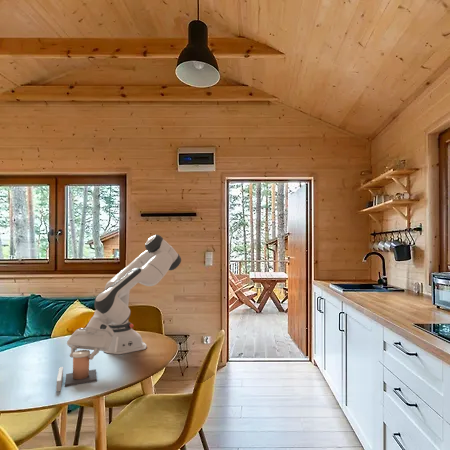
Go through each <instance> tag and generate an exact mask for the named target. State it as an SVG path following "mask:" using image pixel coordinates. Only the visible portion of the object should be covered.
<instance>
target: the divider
mask: <svg viewBox="0 0 450 450" xmlns="http://www.w3.org/2000/svg"><path fill="white" fill-rule="evenodd" d="M56 377H57V378H56V390H55V391H56V392H61V391H62V386H63V378H64V366H61V367H59V368H58V373H57V376H56Z"/></svg>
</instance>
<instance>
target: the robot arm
mask: <svg viewBox="0 0 450 450" xmlns="http://www.w3.org/2000/svg"><path fill="white" fill-rule="evenodd" d="M144 247H145V249H146V250H145V251H143V252H142V253H139V255H138V256H137V257H135V259H133V260H132V261H131V262H130V263H129V264H128V265H127V266H125V267H124V268H123V269H121V270H120V271H119V272H118V273H117V274H115V275H114V276H113V277H112V278H110V280H108V281H107V282H106V284H105V286H104V289H103V291H101V292H99V293H98V294H97V295H96V296H95V299H94V309H95V311H94V314H93V316H92V317H91V318H90V319H89V322H88V323H87V325H86V326H85V327H79V328H77V329H76V330H75V331H74V332H73V333H72V334H71V335H70V337H69V338H68V340H67V342H66V344H67V346H68V347H69V348H70V353H69V357H70V358H72V359H73V352H76V351H78V350H79V349H80V350H89V351H90V350H91V351H93V352H90V354H89V356H88V359H89V361H91V360H92V361H93V359H94V357H95V356H97V355H98V354H99V352H100V351H101V352H104V353H107V354H112V355H113V354H114V355H123V354H128V353H134V352H138V351H142V350H146V349H147V343H145V342H144V341H143V338H142V335H141V334H140V333H138V332H137V330H134V329H133V328H134V324H133V323H132V322H130V321H129V320H130V317H131V312H132V311H131V309H130V307H129V304H130V303H129V301H130V293H131V290H132V289H133V288H134V287H135V286H136V285H137V284H140V285H143V286H145V287H154V286H156V285H158V284H159V283H160V282H161V281H162V279H163V278H164V277H165V276H166V275H167V273H168V272H169V271H174V270H176V269H177V268H178V267H179V266H180V265H181V262H182V258H181V256H180V254H179V253H178V252H177V251H176V250H175V248H174V247H173V246H172V245H171V244H169V243H168V241H166V240H165V239H164V238H163V236H162V235H159V234H153V235H152V236H150V237H149V238H148V239H147V240H146V242H145V245H144Z"/></svg>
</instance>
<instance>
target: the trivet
mask: <svg viewBox="0 0 450 450" xmlns="http://www.w3.org/2000/svg"><path fill="white" fill-rule="evenodd" d="M64 381H65V382H64V387H70V386H76V385H82V384H87V383H95V382H97V381H98V377H97V369H89V376H88V377H87V378H84V379H73V372H71V373H65V380H64Z"/></svg>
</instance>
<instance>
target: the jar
mask: <svg viewBox="0 0 450 450" xmlns="http://www.w3.org/2000/svg"><path fill="white" fill-rule="evenodd" d="M89 354H91V351H90V350H88V349H80V350H79V349H78V350H75V352H73V358H72V373H73V379H84V378H87V377H88V376H89V370H90V359H88V356H89Z"/></svg>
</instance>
